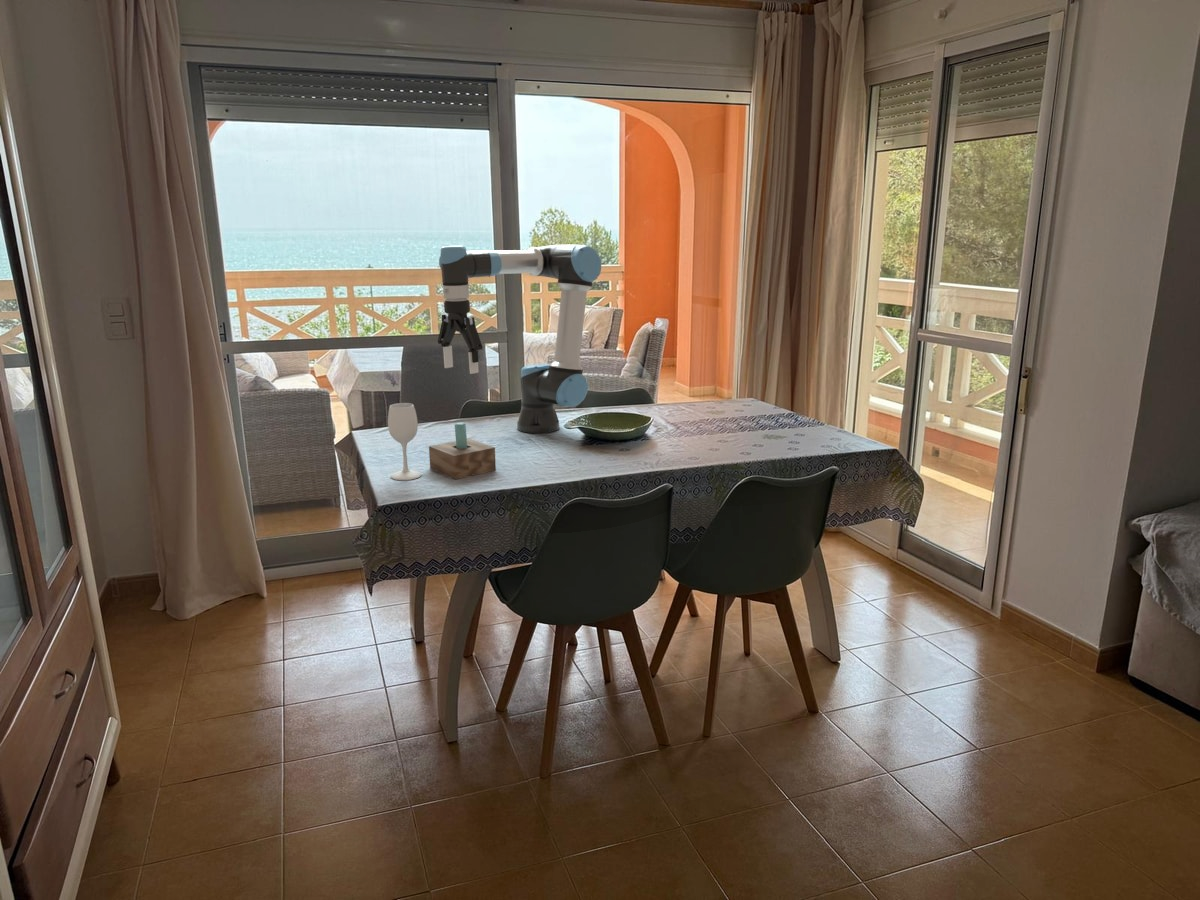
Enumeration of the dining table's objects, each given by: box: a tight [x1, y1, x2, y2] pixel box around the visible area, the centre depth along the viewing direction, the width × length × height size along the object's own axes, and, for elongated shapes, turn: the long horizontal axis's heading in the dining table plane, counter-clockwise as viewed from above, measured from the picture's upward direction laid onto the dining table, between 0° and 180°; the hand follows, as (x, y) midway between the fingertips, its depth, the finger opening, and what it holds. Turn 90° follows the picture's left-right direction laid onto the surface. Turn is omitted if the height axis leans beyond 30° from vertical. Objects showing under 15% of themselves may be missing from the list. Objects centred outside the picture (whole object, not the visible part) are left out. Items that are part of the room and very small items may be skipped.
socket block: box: [428, 438, 497, 480], centre depth 238 cm, size 14×14×7 cm
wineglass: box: [387, 402, 422, 481], centre depth 229 cm, size 9×9×21 cm
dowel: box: [454, 422, 468, 450], centre depth 236 cm, size 3×3×12 cm
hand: (461, 370), depth 243 cm, fingers open, 13 cm apart
